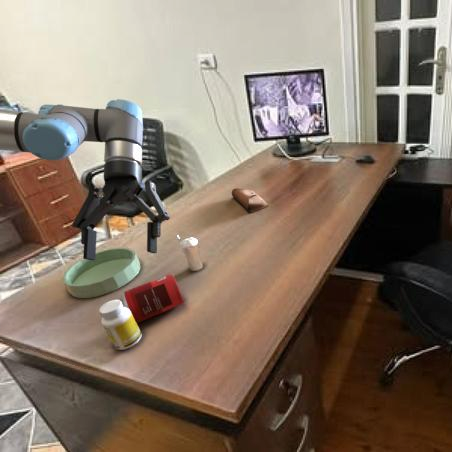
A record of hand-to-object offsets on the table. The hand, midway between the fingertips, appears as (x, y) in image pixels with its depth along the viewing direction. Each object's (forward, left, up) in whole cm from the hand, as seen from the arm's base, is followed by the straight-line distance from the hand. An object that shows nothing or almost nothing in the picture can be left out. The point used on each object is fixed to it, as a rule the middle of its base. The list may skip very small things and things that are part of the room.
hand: (120, 255), depth 76 cm
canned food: (+9, +2, -12) cm, 14 cm away
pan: (-17, +16, -15) cm, 28 cm away
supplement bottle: (0, -10, -16) cm, 18 cm away
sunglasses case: (+18, +55, -16) cm, 60 cm away
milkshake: (+8, +15, -16) cm, 23 cm away
